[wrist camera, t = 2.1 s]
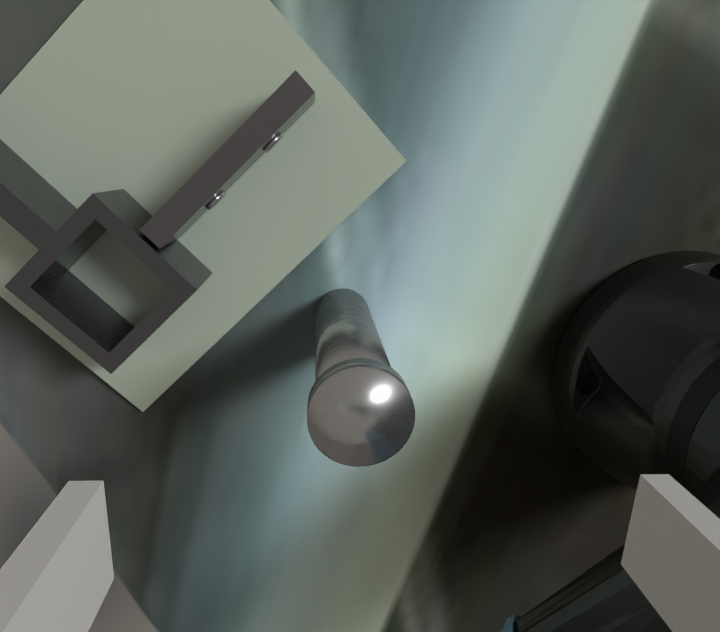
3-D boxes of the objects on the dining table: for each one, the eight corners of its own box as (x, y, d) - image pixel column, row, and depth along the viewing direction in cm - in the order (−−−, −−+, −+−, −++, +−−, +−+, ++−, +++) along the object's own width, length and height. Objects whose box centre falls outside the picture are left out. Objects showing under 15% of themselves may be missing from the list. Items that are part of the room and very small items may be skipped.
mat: (405, 160, 28) (406, 160, 28) (145, 408, 31) (143, 412, 31) (180, -102, 24) (178, -107, 24) (-96, 211, 27) (-104, 212, 27)
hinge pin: (387, 315, 31) (437, 418, 18) (340, 357, 31) (358, 485, 19) (343, 270, 30) (364, 346, 18) (296, 314, 30) (284, 419, 18)
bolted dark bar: (318, 105, 27) (318, 96, 23) (184, 240, 28) (163, 252, 24) (298, 83, 26) (295, 69, 22) (163, 220, 28) (139, 229, 24)
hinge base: (212, 273, 29) (197, 289, 25) (137, 347, 30) (111, 374, 26) (-45, 29, 25) (-112, 5, 21) (-125, 123, 25) (-203, 117, 22)
